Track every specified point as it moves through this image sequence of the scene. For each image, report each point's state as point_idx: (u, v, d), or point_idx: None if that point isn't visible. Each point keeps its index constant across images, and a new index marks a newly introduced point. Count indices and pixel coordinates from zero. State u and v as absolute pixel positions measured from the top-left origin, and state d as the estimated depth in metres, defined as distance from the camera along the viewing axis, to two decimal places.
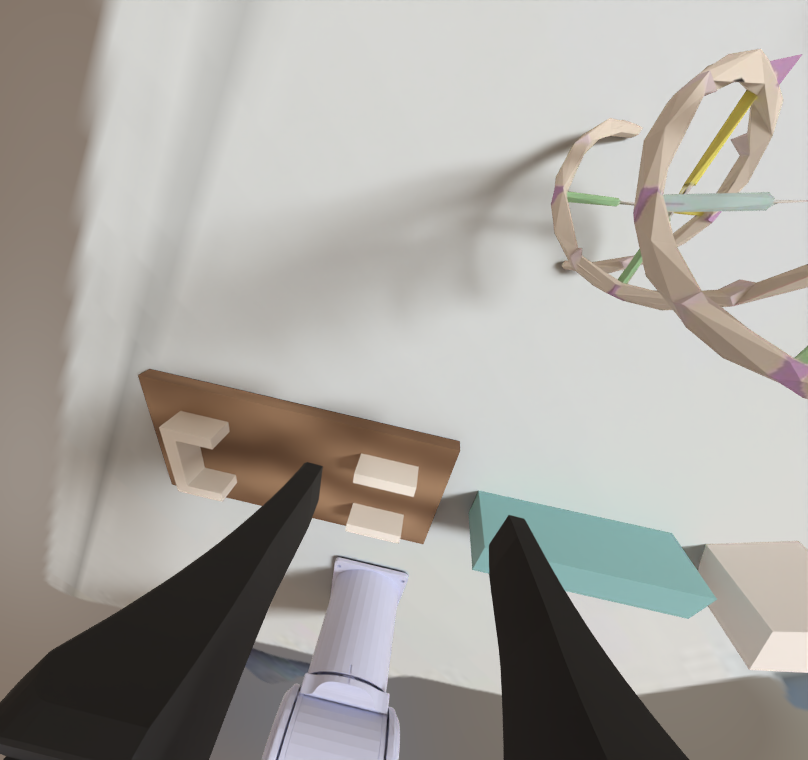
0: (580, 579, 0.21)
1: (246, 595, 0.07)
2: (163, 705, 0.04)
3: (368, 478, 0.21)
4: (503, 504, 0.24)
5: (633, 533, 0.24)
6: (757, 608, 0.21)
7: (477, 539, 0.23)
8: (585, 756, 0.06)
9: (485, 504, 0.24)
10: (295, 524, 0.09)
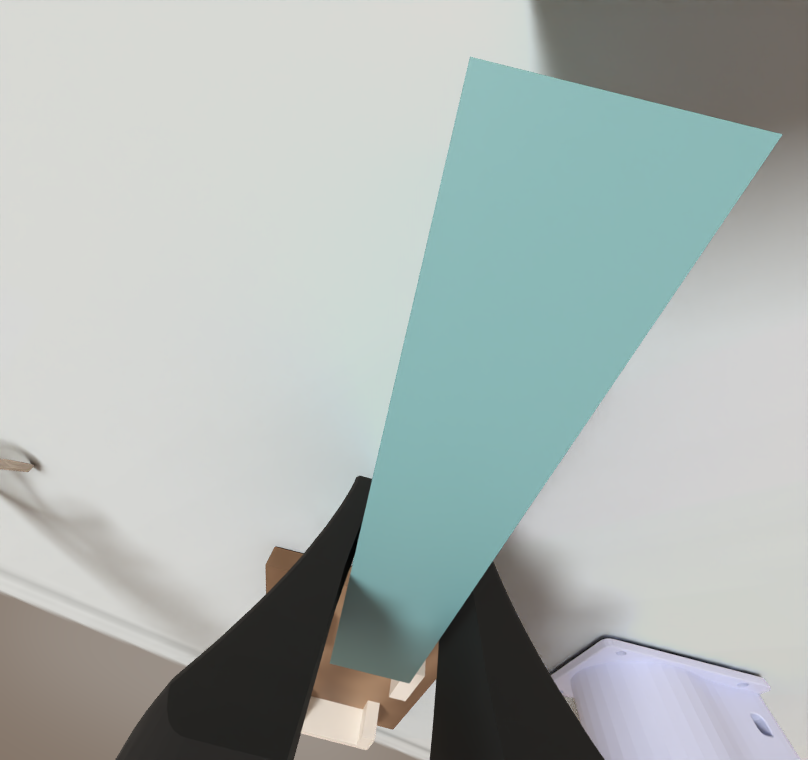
0: (402, 570, 0.07)
1: (330, 617, 0.07)
2: (291, 738, 0.05)
3: None
4: None
5: None
6: None
7: None
8: (484, 730, 0.06)
9: None
10: (356, 540, 0.09)
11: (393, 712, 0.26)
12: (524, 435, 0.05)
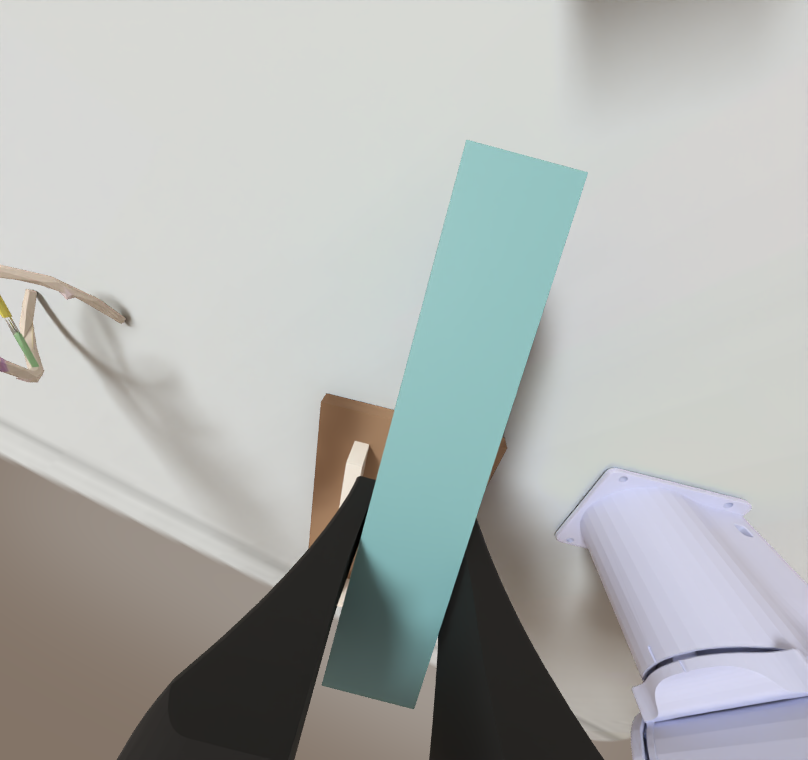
0: (418, 486, 0.08)
1: (331, 617, 0.07)
2: (292, 738, 0.05)
3: (343, 499, 0.20)
4: None
5: None
6: None
7: None
8: (483, 730, 0.06)
9: None
10: (357, 540, 0.09)
11: None
12: (505, 330, 0.08)
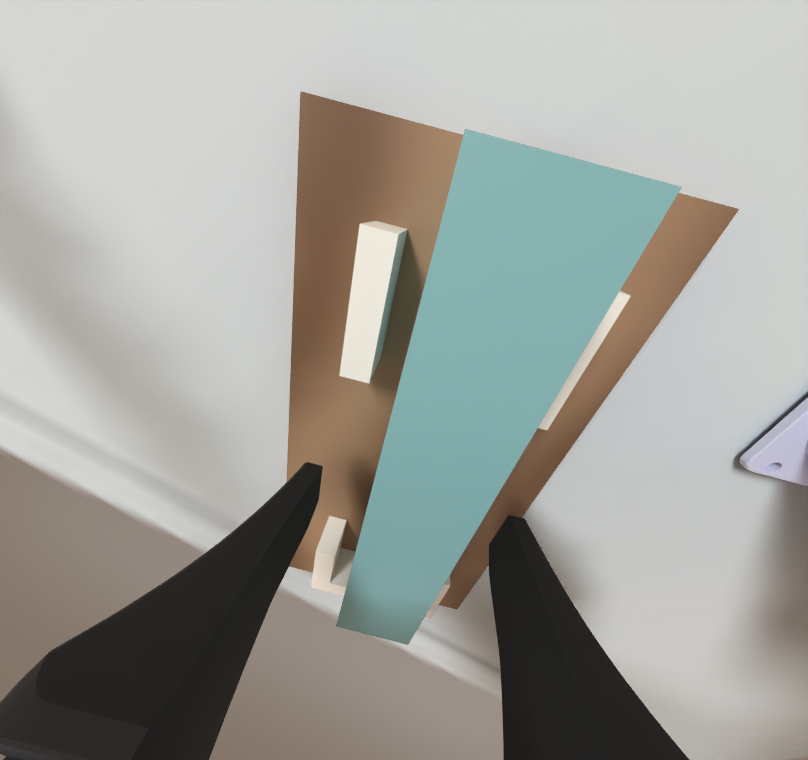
0: (405, 531, 0.08)
1: (246, 595, 0.07)
2: (163, 705, 0.04)
3: (349, 348, 0.09)
4: None
5: None
6: None
7: None
8: (585, 756, 0.06)
9: None
10: (295, 524, 0.09)
11: (467, 566, 0.18)
12: (507, 408, 0.06)
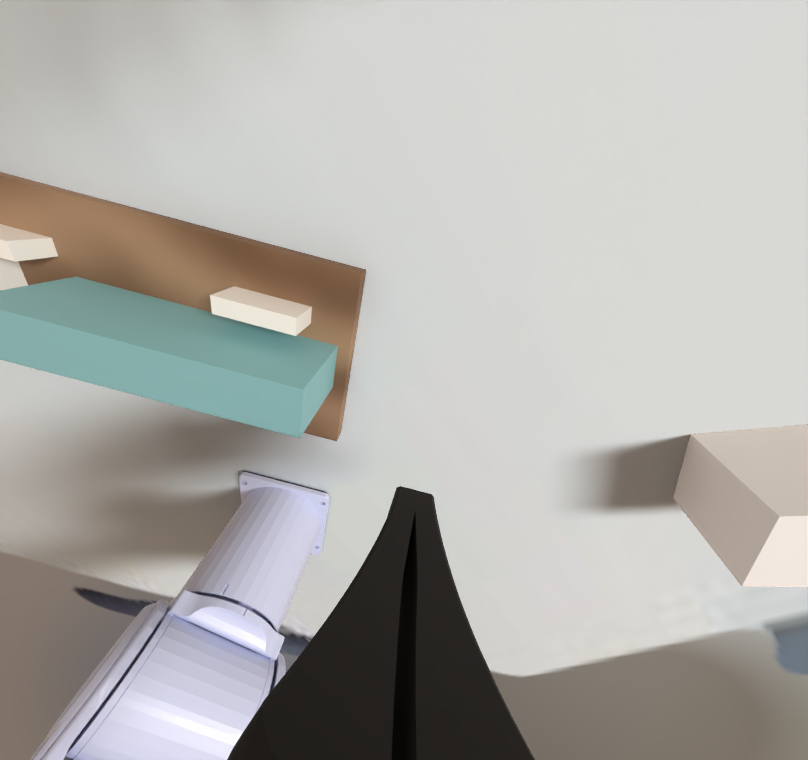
0: (121, 362, 0.14)
1: None
2: None
3: (230, 304, 0.15)
4: (89, 288, 0.17)
5: (269, 336, 0.17)
6: (758, 493, 0.15)
7: None
8: (407, 710, 0.06)
9: (56, 283, 0.17)
10: None
11: None
12: (220, 405, 0.15)
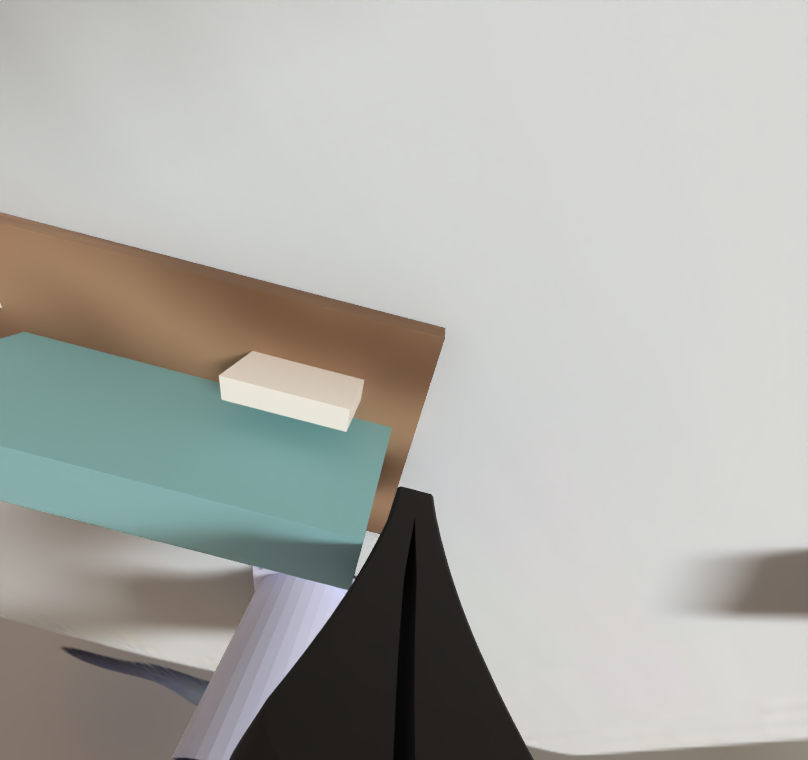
0: (73, 488, 0.09)
1: None
2: None
3: (250, 388, 0.10)
4: (39, 353, 0.12)
5: (298, 421, 0.12)
6: None
7: None
8: (406, 710, 0.06)
9: None
10: None
11: None
12: (229, 547, 0.10)
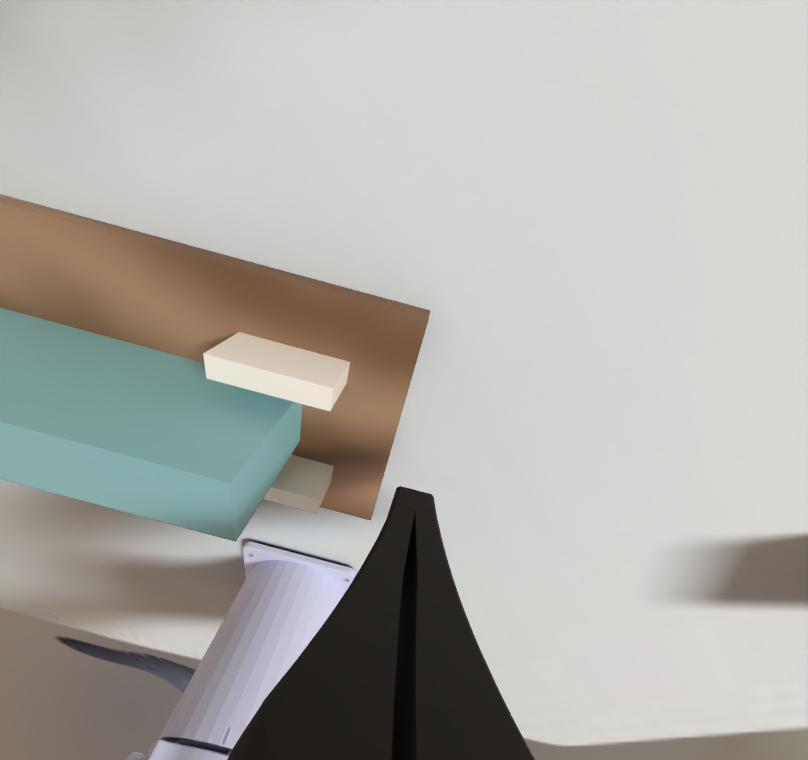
0: None
1: None
2: None
3: (234, 367, 0.10)
4: None
5: (203, 380, 0.12)
6: None
7: None
8: (407, 710, 0.06)
9: None
10: None
11: None
12: (111, 495, 0.10)
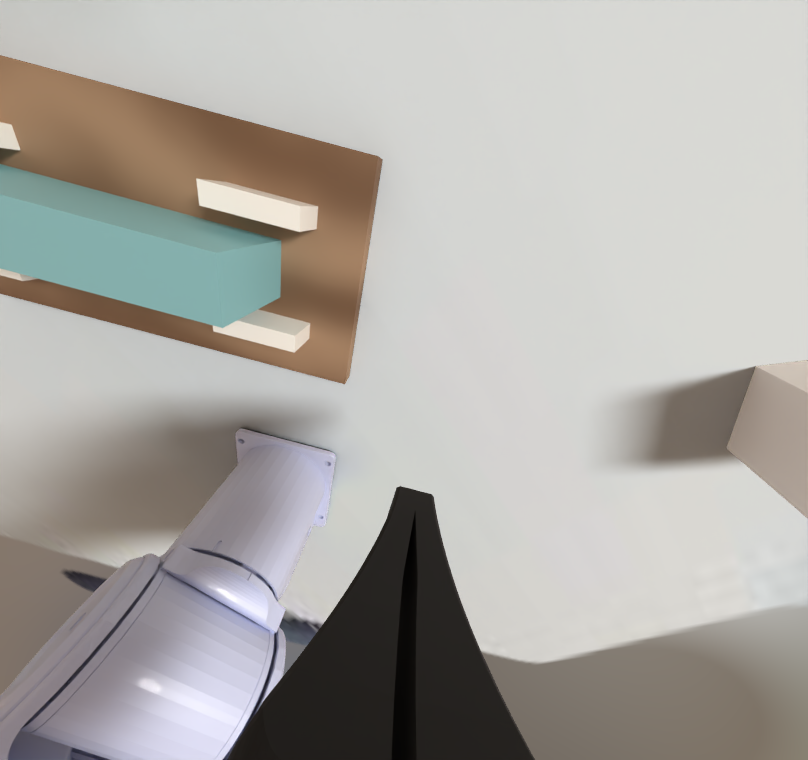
0: None
1: None
2: None
3: (221, 190, 0.13)
4: None
5: (197, 222, 0.14)
6: None
7: None
8: (407, 710, 0.06)
9: None
10: None
11: (50, 292, 0.19)
12: (123, 284, 0.12)
